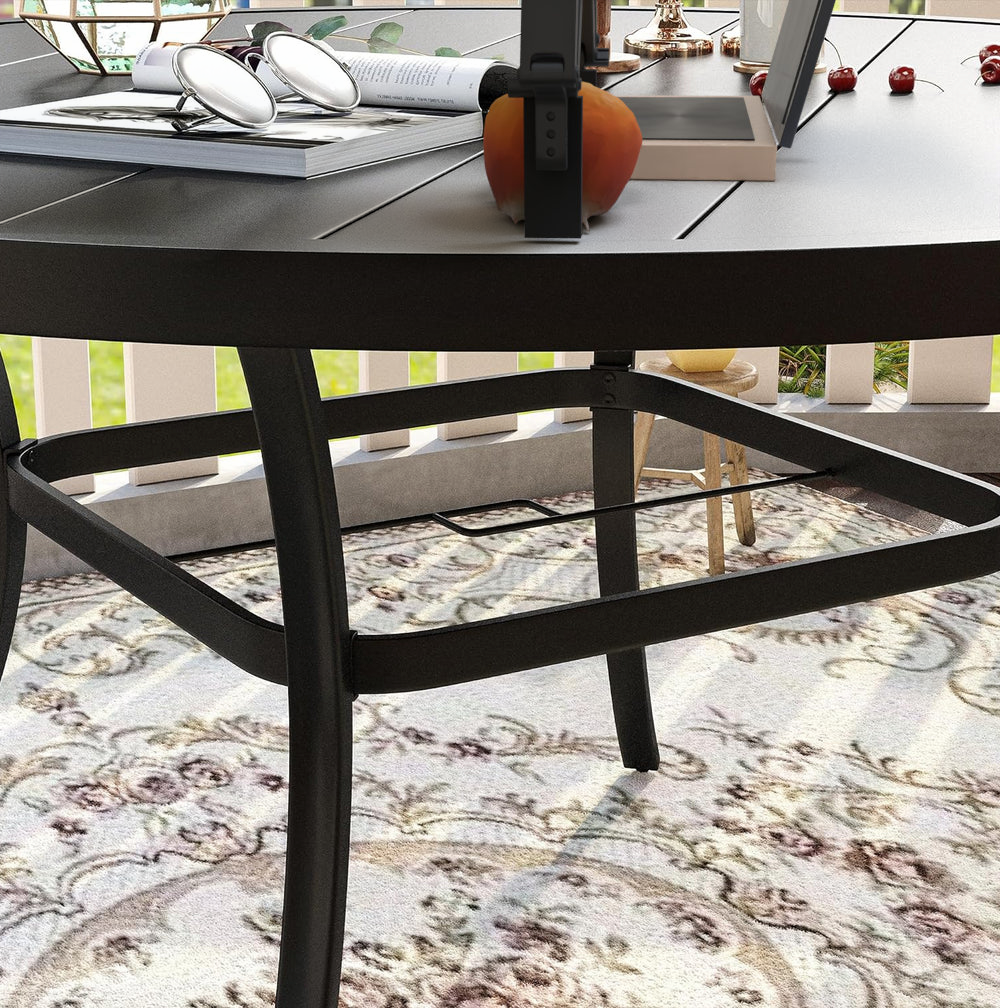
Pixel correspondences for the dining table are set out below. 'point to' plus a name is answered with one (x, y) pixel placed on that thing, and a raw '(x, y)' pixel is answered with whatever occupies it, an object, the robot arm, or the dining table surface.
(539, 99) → the robot arm
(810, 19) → the laptop screen
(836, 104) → the dining table surface
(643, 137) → the beige flat box
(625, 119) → the fruit
